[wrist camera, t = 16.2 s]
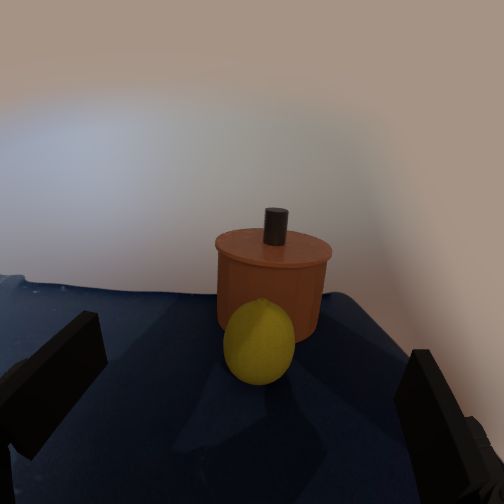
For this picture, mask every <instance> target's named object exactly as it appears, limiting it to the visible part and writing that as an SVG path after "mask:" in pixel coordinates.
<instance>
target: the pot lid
mask: <svg viewBox="0 0 504 504" xmlns="http://www.w3.org/2000/svg"><path fill="white" fill-rule="evenodd" d="M287 223H288V210H286V209H282V208H266V209H265V217H264V228H252V229H240V230H234V231H229V232H226V233H224V234H221V235H220V236H218V237H217V238H216V240H215V246H216V249H217V250H218V251H219V252H220V253H221V254H223V255H224V256H226V257H228V258H231V259H233V260H236V261H239V262H243V263H247V264H251V265H257V266H263V267H272V268H303V267H310V266H315V265H319V264H322V263H324V262H326V261H328V260H329V259H330V258H331V255H332V248H331V247H330V245H329V244H327V243H326V242H324V241H323V240H321V239H318V238H316V237H313V236H310V235H307V234H303V233H298V232H293V231H287Z"/></svg>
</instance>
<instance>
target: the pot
mask: <svg viewBox="0 0 504 504" xmlns="http://www.w3.org/2000/svg"><path fill="white" fill-rule="evenodd" d="M326 265H327V261H326V262H324V263H322V264H319V265H315V266H310V267H303V268H272V267H263V266H257V265H251V264H247V263H243V262H239V261H236V260H233V259H231V258H228V257H226V256H224V255H223V254H221V253H220V252H219V251H218V286H217V314H218V315H217V319H218V322H219V324H220V326H221V327H222V329H223V330H224V331H225V330H226V327H227V324H228V322H229V320H230V318H231V316H232V314H233V313H234V312H235V311H236V310H237V309H238V308H239V307H240V306H242V305H244V304H246V303H248V302H251V301H255V300H258V299H259V298H265V299H267V300H268V301H270V302H273V303H275V304H277V305H278V306H280V307H281V308H282V309H283V310H284V311H285V312H286V313H287V314H288V316H289V317H290V319H291V321H292V324H293V329H294V335H295V343H297V342H300V341H302V340H304V339H306V338H308V337H309V336H310V335H311V334H312V333H313V332H314V331H315V329H316V326H317V321H318V316H319V310H320V304H321V298H322V292H323V285H324V279H325V273H326Z"/></svg>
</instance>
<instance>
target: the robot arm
mask: <svg viewBox="0 0 504 504" xmlns="http://www.w3.org/2000/svg"><path fill="white" fill-rule="evenodd" d="M107 364H108V361H107V357H106V352H105V348H104V343H103V338H102V333H101V328H100V323H99V317H98V313H94V312H89V311H85V310H84V311H83V312H82V313H81V314H79V315H78V316H77V317H76V318H75V319H73V320H72V321H71V322H70V323H69V324H68V325H66V326H65V327H64V328H63V329H62V330H61V331H59V332H58V333H57V334H56V335H55V336H54V337H52V338H51V339H50V340H49V341H48V342H47V343H46V344H44V345H43V346H42V347H41V348H40V349H39V350H38V351H37V352H35V353H34V354H33V355H32V356H31V357H30V358H29V359H27V358H26V359H24V360H22V361H20V362H18V363H16V364H15V365H14V366H12V367H11V368H10V369H9V370H8V372H6V373H5V374H4V375H3V376H2V378H0V504H15V498H14V490H13V482H12V471H11V458H10V451H9V448H8V447H7V446H8V445H9V444H10V443H12V445H13V446H14V448H15V449H16V451H17V452H18V453H19V454H21V455H23V456H24V457H26V458H27V459H29V460H31V461H32V460H33V458H34V457H35V456H36V454H37V453H38V452H39V450H40V449H41V448H42V446H43V445H44V444H45V442H46V441H47V440H48V438H49V437H50V436H51V434H52V433H53V432H54V431H55V429H56V428H57V427H58V425H59V424H60V423H61V422H62V420H63V419H64V418H65V416H66V415H67V414H68V413H69V411H70V410H71V409H72V408H73V406H74V405H75V404H76V403H77V401H78V400H79V399H80V398H81V396H82V395H83V394H84V393H85V391H86V390H87V389H88V388H89V386H90V385H91V384H92V383H93V381H94V380H95V379H96V378H97V376H98V375H99V374H100V373H101V372H102V370H103V369H104V368H105V367H106V365H107ZM393 400H394V403H395V406H396V410H397V413H398V416H399V420H400V423H401V427H402V430H403V434H404V437H405V441H406V444H407V448H408V452H409V456H410V460H411V463H412V467H413V471H414V476H415V480H416V484H417V488H418V493H419V497H420V502H421V504H504V472H503V470H502V468H501V465H500V463H499V461H498V459H497V456H496V454H495V452H494V450H493V448H492V446H490V444H491V443H490V441H489V439H488V438H487V437H486V436H487V435H486V433H485V431H484V429H483V427H482V425H481V424H480V423H479V422H478V421H477V420H476V419H475V418H474V417H473V416H470V417H464V415H463V413H462V411H461V409H460V407H459V405H458V403H457V401H456V399H455V397H454V395H453V393H452V391H451V389H450V387H449V385H448V384H447V382H446V380H445V378H444V376H443V374H442V372H441V370H440V369H439V367H438V365H437V363H436V362H435V360H434V358H433V356H432V354H431V353H430V351H429V350H428V349H427V350H426V349H413V350H412V353H411V356H410V359H409V361H408V364H407V367H406V369H405V372H404V375H403V377H402V380H401V382H400V385H399V387H398V389H397V392H396V394H395V397H394V399H393Z"/></svg>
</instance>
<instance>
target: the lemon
mask: <svg viewBox="0 0 504 504" xmlns="http://www.w3.org/2000/svg"><path fill="white" fill-rule="evenodd" d="M223 346H224V357H225V360H226V363H227V365H228V367H229V369H230V371H231V372H232V373H233V374H234V375H235V376H236V377H237V378H238V379H240V380H241V381H243V382H245V383H248V384H252V385H265V384H268V383H271V382H274V381H275V380H277V379H278V378H280V377H281V376H282V375H283V374H284V373H285V371H286V370H287V369H288V367H289V365H290V363H291V361H292V357H293V354H294V349H295V335H294V329H293V324H292V321H291V319H290V317H289V316H288V314H287V313H286V312H285V311H284V310H283V309H282V308H281V307H280V306H278V305H277V304H275V303H273V302H270V301H268V300H267V299H265V298H259V299H258V300H255V301H251V302H248V303H246V304H244V305H242V306H240V307H239V308H238V309H237V310H236V311H235V312H234V313H233V314H232V316H231V318H230V320H229V322H228V324H227V327H226V330H225V334H224V341H223Z"/></svg>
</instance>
